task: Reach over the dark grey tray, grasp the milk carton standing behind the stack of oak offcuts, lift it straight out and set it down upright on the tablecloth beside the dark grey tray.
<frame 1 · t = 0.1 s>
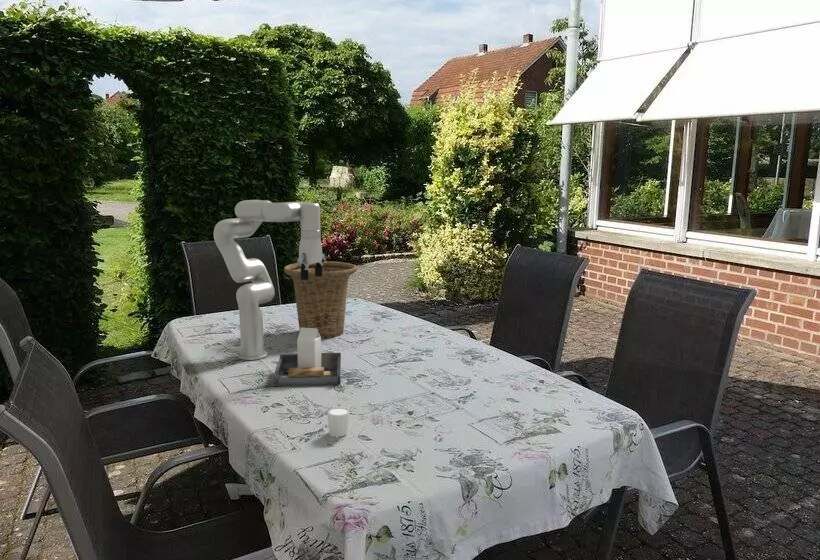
hand: (311, 278, 246), 37 cm above the table, tool pointing down, fingers open, 9 cm apart
milk carton: (309, 375, 244), resting in dark grey tray
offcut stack: (308, 382, 236), resting in dark grey tray
wicker basket: (321, 333, 307), on the table
white cylinder: (338, 433, 191), on the table
dark grey tray: (309, 377, 241), on the table
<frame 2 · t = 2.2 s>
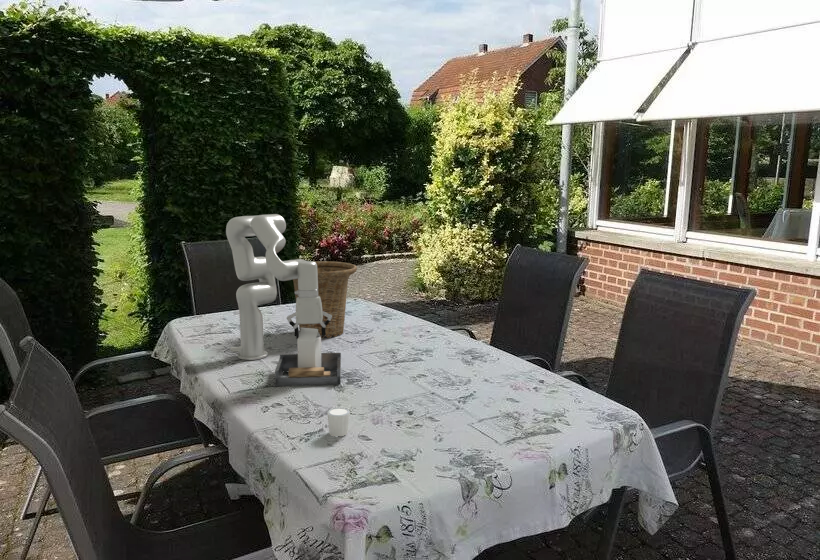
hand: (310, 337, 240), 16 cm above the table, tool pointing down, fingers open, 9 cm apart
milk carton: (309, 375, 244), resting in dark grey tray, touching gripper
everything else where it was.
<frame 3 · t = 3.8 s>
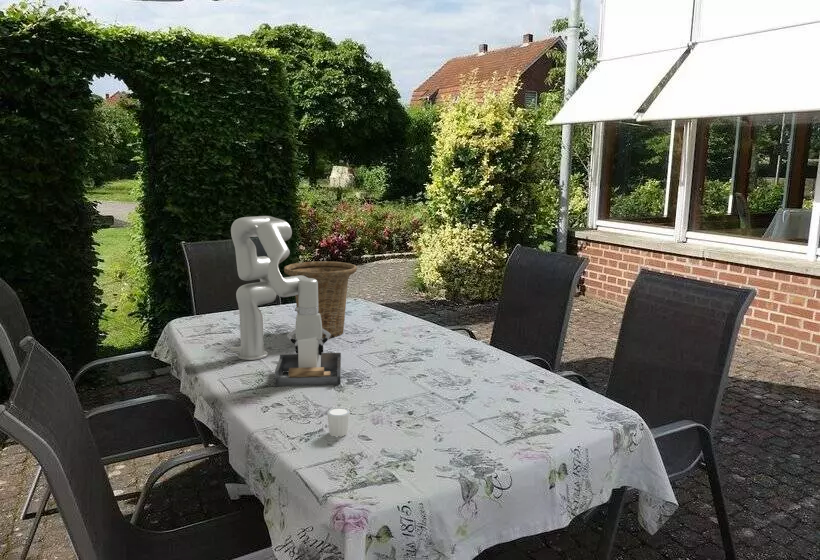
hand: (309, 354, 242), 9 cm above the table, tool pointing down, fingers closed on milk carton, 8 cm apart
milk carton: (310, 375, 244), resting in dark grey tray, touching gripper
everything else where it was.
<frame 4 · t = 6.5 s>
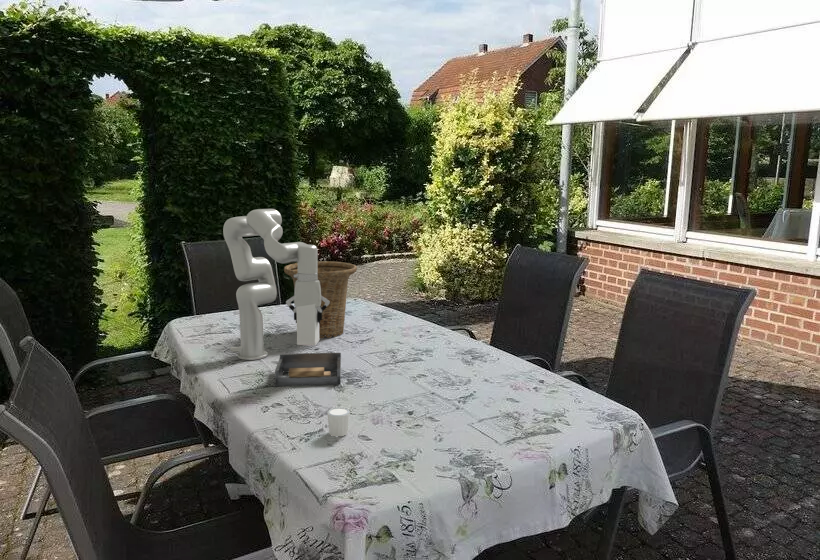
hand: (308, 321, 240), 22 cm above the table, tool pointing down, fingers closed on milk carton, 8 cm apart
milk carton: (308, 343, 242), point 13 cm above the table, touching gripper
everything else where it was.
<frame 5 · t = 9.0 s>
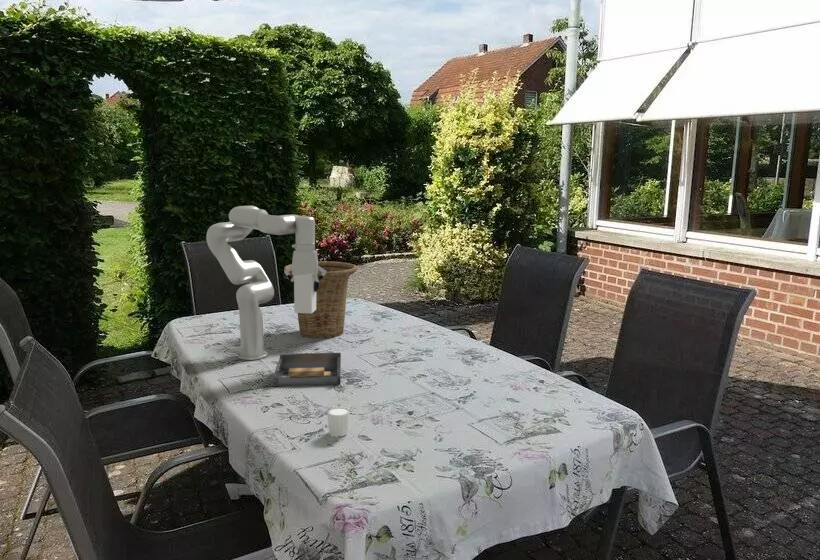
hand: (305, 290, 250), 31 cm above the table, tool pointing down, fingers closed on milk carton, 8 cm apart
milk carton: (305, 312, 251), point 23 cm above the table, touching gripper
everything else where it was.
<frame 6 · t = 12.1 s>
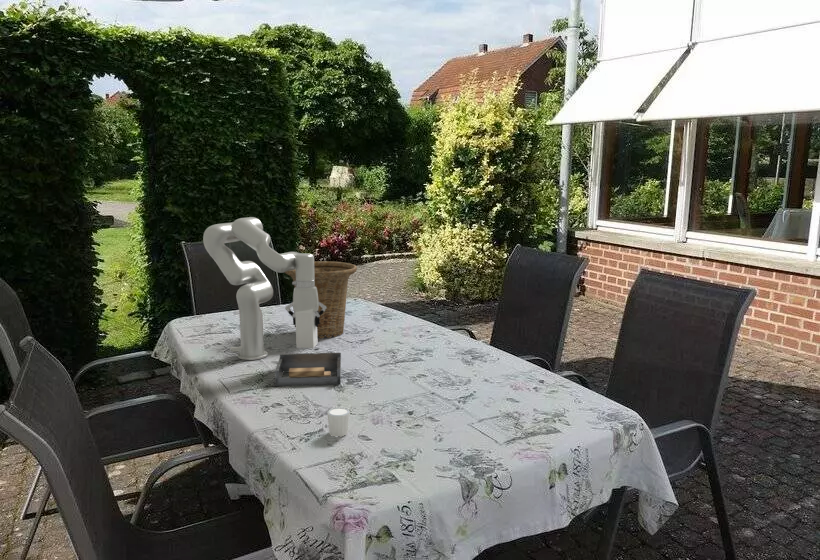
hand: (306, 326, 255), 16 cm above the table, tool pointing down, fingers closed on milk carton, 8 cm apart
milk carton: (307, 346, 256), point 8 cm above the table, touching gripper
everything else where it was.
when the fingers open (10 cm above the table, at t = 14.5 s): milk carton drops 1 cm, on the table.
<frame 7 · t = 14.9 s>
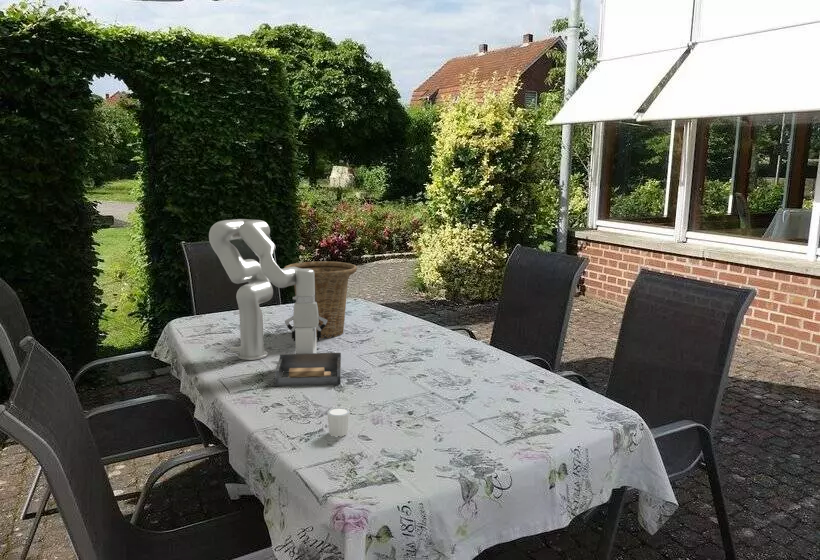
hand: (306, 340, 256), 10 cm above the table, tool pointing down, fingers open, 9 cm apart
milk carton: (306, 364, 258), on the table
everything else where it was.
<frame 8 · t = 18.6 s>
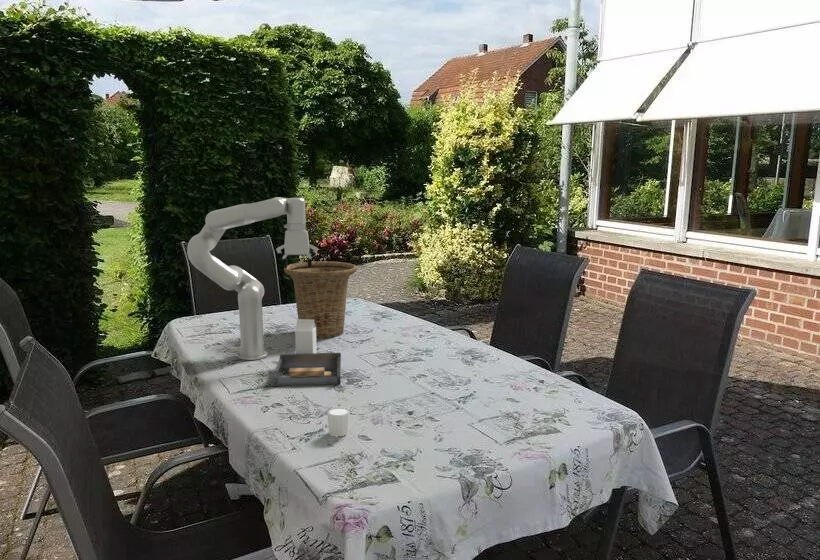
hand: (297, 267, 263), 38 cm above the table, tool pointing down, fingers open, 9 cm apart
nothing on the table moved.
at the end: milk carton inside the target area (0.2 cm from its centre), on the table; milk carton tilted 0°; the gripper is holding nothing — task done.
